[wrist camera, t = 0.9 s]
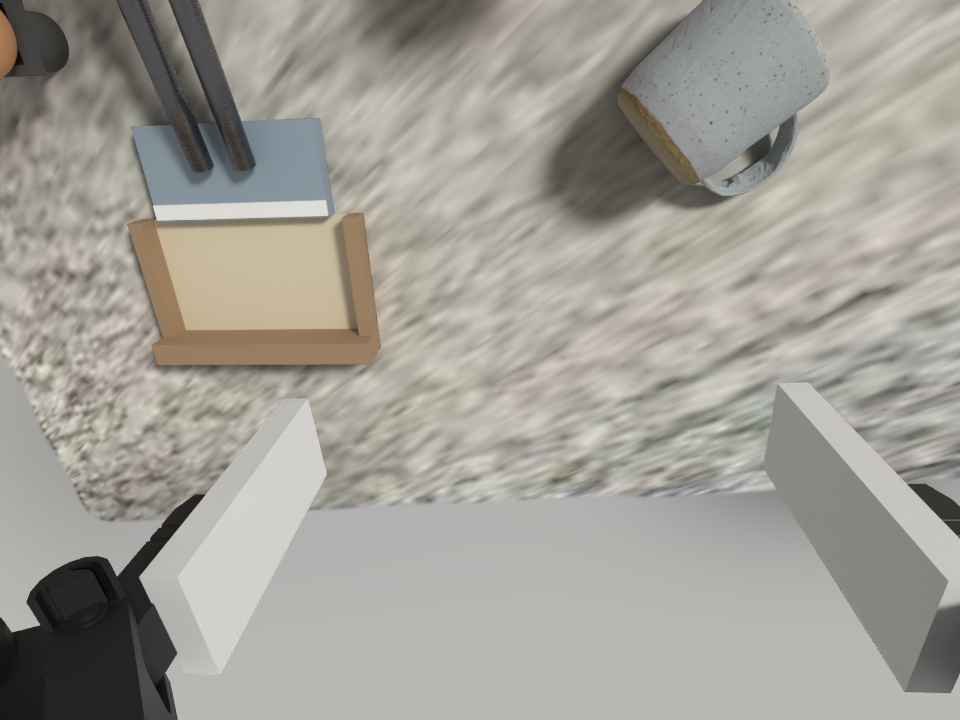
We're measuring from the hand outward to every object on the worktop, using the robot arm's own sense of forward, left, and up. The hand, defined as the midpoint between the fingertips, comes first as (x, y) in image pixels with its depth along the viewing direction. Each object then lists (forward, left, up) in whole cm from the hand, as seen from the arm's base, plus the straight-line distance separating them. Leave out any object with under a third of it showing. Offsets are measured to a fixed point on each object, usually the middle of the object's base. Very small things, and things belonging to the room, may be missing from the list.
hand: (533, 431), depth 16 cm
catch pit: (+3, -19, -24) cm, 31 cm away
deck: (-5, -19, -24) cm, 31 cm away
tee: (-13, -30, -24) cm, 41 cm away
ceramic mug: (-8, +11, -24) cm, 28 cm away
